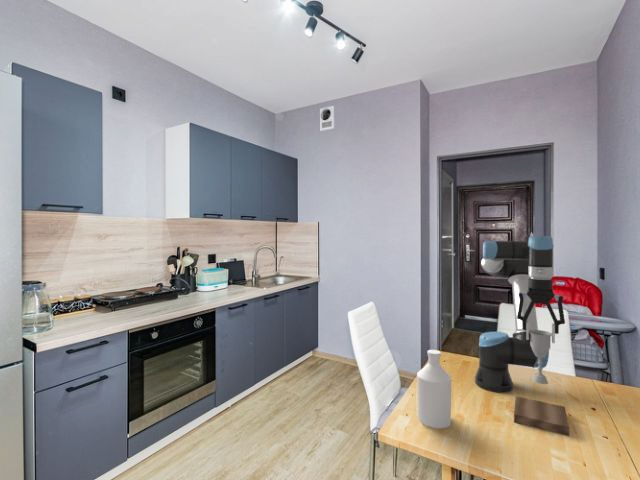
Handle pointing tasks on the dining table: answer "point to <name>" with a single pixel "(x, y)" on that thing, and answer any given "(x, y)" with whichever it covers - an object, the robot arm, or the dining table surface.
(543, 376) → the chalice
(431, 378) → the bottle
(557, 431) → the plinth
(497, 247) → the robot arm
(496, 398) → the dining table surface
